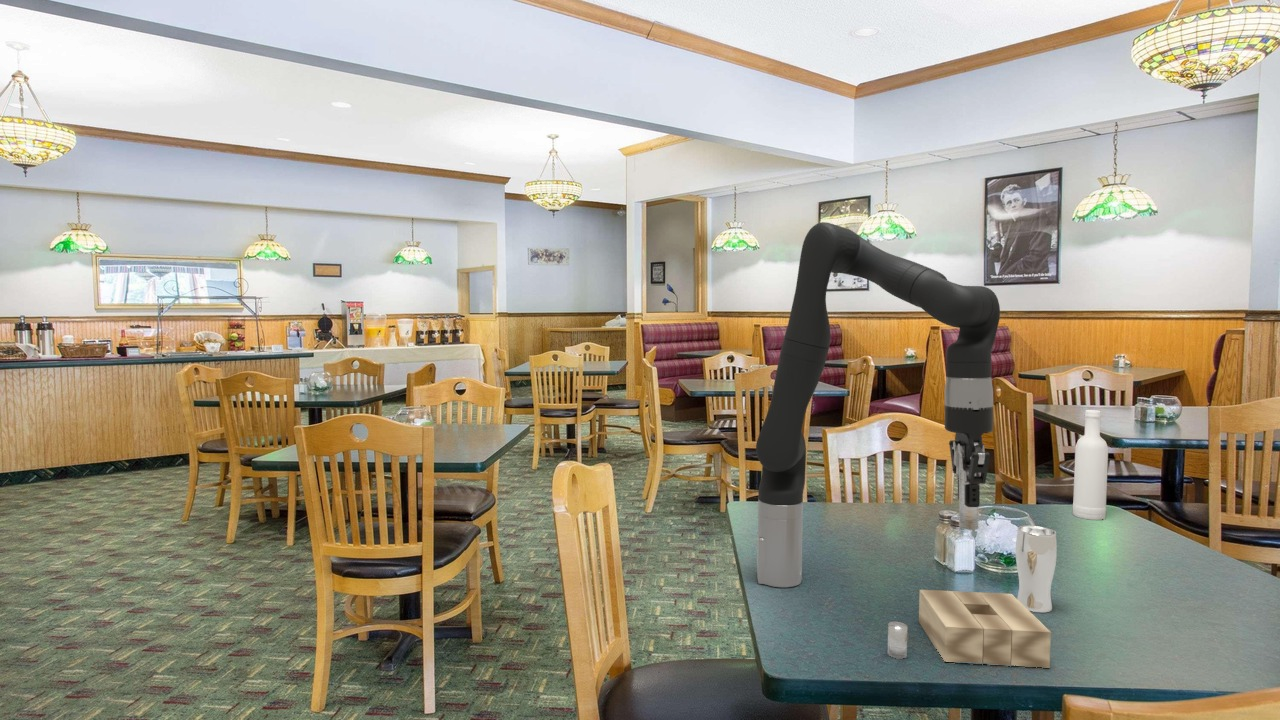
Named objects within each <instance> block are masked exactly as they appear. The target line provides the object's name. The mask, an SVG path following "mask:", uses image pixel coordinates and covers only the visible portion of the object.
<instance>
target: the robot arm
mask: <svg viewBox="0 0 1280 720" xmlns="http://www.w3.org/2000/svg"><path fill="white" fill-rule="evenodd" d="M798 265H799V266H798V271H797V278H796V286H795V291H794V296H793V301H792V305H791V309H790V314H789V319H788V321H787V322H788V323H787V328H786V329H785V332H784V336H783V337H784V338H783V341H782V344H781V349H780V353H779V356H778V363H777V367H776V373H775V378H774V382H773V383H774V384H773V390H772V395H771V400H770V402H769V407H768V409H767V414H766V416H765V418H764V422H763V424H762V427H761V429H760V433H759V434H758V438H757V440H756V443H755V444H756V445H755V451H756V452H755V453H756V456H757V459H758V461H759V464H761V467H762V468H761V478H760V482H759V485H758V493H757V494H758V496H757V497H758V499H757V500H758V501H757V502H758V505H757V508H758V509H757V514H758V515H757V516H758V517H757V519H758V521H757V532H756V533H757V534H756V537H757V539H756V543H757V544H756V577H757V584H759V585H761V584H762V585H766V586H768V587H774V588H775V587H776V588H792V587H796V586H798V585H801V583H802V577H803V575H802V574H803V569H802V568H803V565H802V564H803V514H804V513H803V509H804V507H803V506H804V505H803V504H804V501H803V500H804V499H803V498H804V490H805V483H806V465H807V464H806V462H807V445H806V440H805V439H806V438H805V436H804V434H803V432H802V431H803V427H804V426H803V425H804V419H805V415H806V413H807V409H808V406H809V404H810V401H811V400H812V397H813V395H814V392H815V391H816V389H817V386H818V384H819V381H820V378H821V376H822V374H823V371H824V368H825V365H826V362H827V361H826V360H827V358H828V354H829V353H828V352H829V350H830V349H829V348H830V346H831V337H832V336H831V334H832V332H831V324H830V319H829V315H828V309H827V289H828V285H829V281H830V278H831V273H832V274H844V275H849V276H853V277H854V276H855V277H857V278H860V279H861V278H862V279H865V280H868V281H870V282H872V284H873V283H874V284H875V285H877V286H879V287H880V288H881V289H882V290H884V291H885V292H887V293H888V294H890V295H891V296H894V297H896V298H897V299H900V300H901V301H903V302H906V303H909V304H910V305H913V306H915V307H917V308H921V309H922V310H923V311H924V312H925V313H927V314H928V315H930V317H932V318H933V319H935V320H937V321H938V322H940V323H942V324H944V325H947V326H950V327H953V328H956V329H957V328H959V331H958V336H957V339H956V341H954V342H953V343H951V344H950V345H948V347H947V348H946V354H945V360H946V361H945V364H946V365H945V371H946V372H945V376H946V378H945V384H944V429H945V430H946V431H947V432H949V433H953V434H954V433H955V435H954V440H952V439H951V440H949V442H948V445H949V451H950V459H951V465H952V466H951V468H952V473H953V474H955V479H956V480H957V500H958V501H959V454H960V467H961V470H962V471H964V483H965V505H966V506H967V507H978V508H979V507H980V500H981V499H980V497H981V496H980V491H981V490H980V487H981V485H982V484H986V480H987V475H988V470H989V465H990V458H991V454H990V452H989V451H985V444H984V443H983V434H989V433H992V432H993V431H994V387H993V380H992V350H993V347H994V344H995V342H996V341H995V340H996V336H997V331H998V327H999V323H1000V317H1001V307H1000V306H1001V305H1000V301H999V299H998V297H997V295H996V293H995V292H994V291H993V290H992V289H990V288H989V287H986V286H982V285H962V284H958V283H956V282H952V281H950V280H949V279H947V277H946V276H945V274H943V273H941V272H939V271H938V270H935V269H933V268H931V267H928V266H926V265H923V264H920V263H917V262H915V261H913V260H910V259H907V258H903V257H900V256H897V255H894V254H892V253H889V252H887V251H885V250H882V249H880V247H877V246H875V245H873V244H872V243H870V242H869V241H868V240H866V239H865V238H863V237H862V236H860V235H859V234H857V233H856V232H854V231H853V230H852V229H849V228H847V227H843V226H840V225H836V224H833V223H831V222H827V221H826V222H824V221H822V222H819V223H816V224H814V225H813V226H812V227H810V229H809V230H808V231H807V234H806V235H805V237H804V240H803V242H802V246H801V251H800V257H799V264H798ZM966 464H970V466H967V465H966ZM975 473H976V476H974V474H975Z"/></svg>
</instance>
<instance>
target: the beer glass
mask: <svg viewBox="0 0 1280 720" xmlns="http://www.w3.org/2000/svg"><path fill="white" fill-rule="evenodd" d="M1016 533H1017V534H1016V540H1015V560H1016V561H1015V562H1016V568H1017V575H1018V582H1019V587H1018V592H1017V593H1018V594H1017V597H1016V599H1017V600H1018V601H1020V602H1021V603H1022V604H1023V605H1024V606H1025V607H1026V608H1027V609H1028V610H1029V611H1030V612H1031V613H1041V614H1043V613H1049V612H1052V610H1053V605H1052V599H1051V587H1052V583H1053V580H1054V579H1053V578H1054V575H1055V571H1056V566H1057V565H1056V564H1057V558H1058V546H1057V545H1058V543H1057V541H1058V539H1057V531H1056V530H1054V529H1052V528H1051V529H1050V528H1049V527H1044V526H1039V525H1020V526H1018V527H1017V532H1016Z"/></svg>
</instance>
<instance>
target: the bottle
mask: <svg viewBox="0 0 1280 720" xmlns="http://www.w3.org/2000/svg"><path fill="white" fill-rule="evenodd" d="M1084 417H1085V418H1084V434H1083V435H1082V436H1081V437H1079V439H1077V442H1076V444H1075V448H1074V475H1073V476H1074V477H1073V498H1072V500H1073V503H1072V515H1073V516H1075V517H1076V518H1080V519H1083V520H1089V521H1091V520H1092V521H1102V519H1103V520H1105V519H1106V515H1107V514H1106V513H1107V487H1108V486H1107V484H1108V483H1107V482H1108V465H1109V464H1108V463H1109V461H1108V460H1109V459H1108V458H1109V447H1108V444H1107V441H1106V440H1105V439H1104V438H1102V436H1101V418H1102V411H1100V410H1098V409H1086V410H1085V414H1084Z"/></svg>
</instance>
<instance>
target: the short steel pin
mask: <svg viewBox="0 0 1280 720" xmlns="http://www.w3.org/2000/svg"><path fill="white" fill-rule="evenodd" d="M887 625H888V626H887V655H888V657H890V656H891V657H890V658H892V657H893V658H892V659H895V658H896V660H904V659H903V658H905V659H907V657H908V655H907V654H908V625H907V624H906V623H903V622H900V621H890V622H888V624H887Z"/></svg>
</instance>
